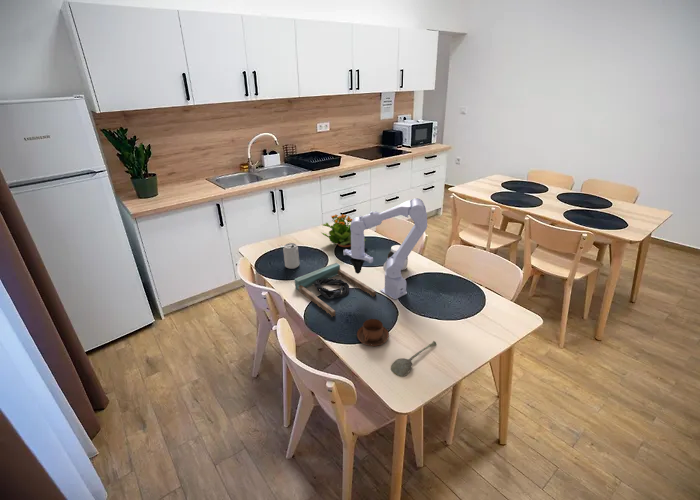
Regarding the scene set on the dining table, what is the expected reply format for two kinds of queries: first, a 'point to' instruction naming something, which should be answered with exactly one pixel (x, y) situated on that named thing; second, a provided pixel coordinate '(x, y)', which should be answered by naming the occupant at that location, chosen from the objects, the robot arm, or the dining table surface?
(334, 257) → the dining table surface
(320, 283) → the cable
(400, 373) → the soupspoon
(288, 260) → the can
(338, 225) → the potted flower
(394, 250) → the spread jar
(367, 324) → the cup and saucer
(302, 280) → the guide channel
